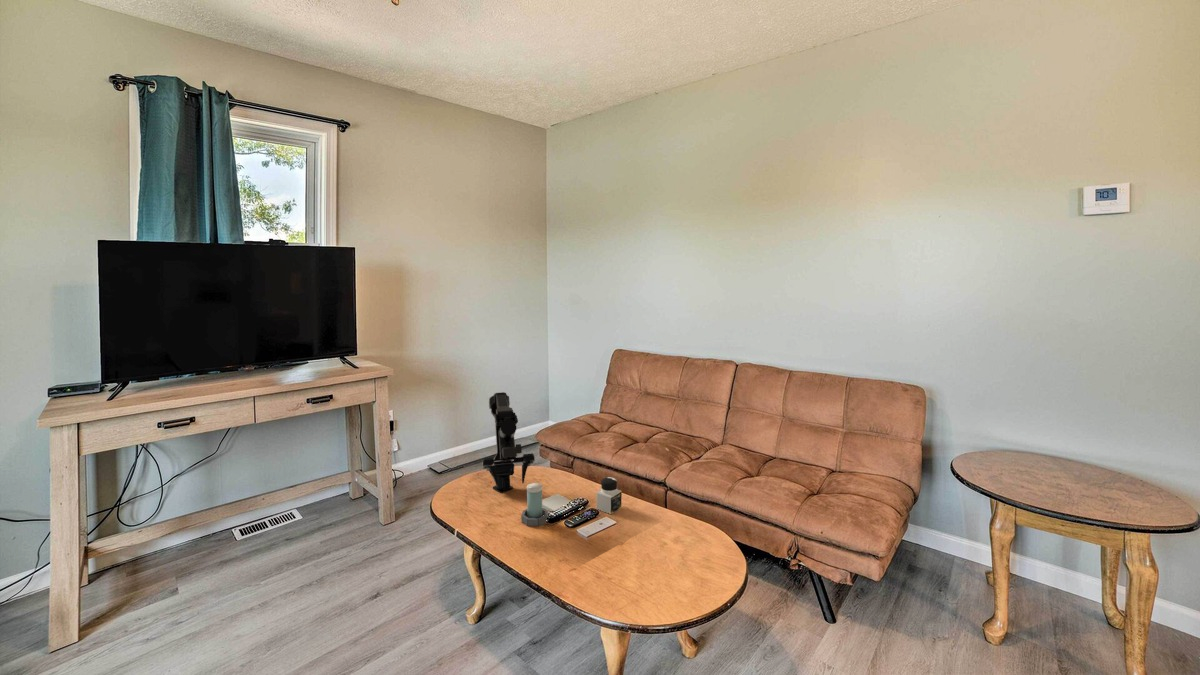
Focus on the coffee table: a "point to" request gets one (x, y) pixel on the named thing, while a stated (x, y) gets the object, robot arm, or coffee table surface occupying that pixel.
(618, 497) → the medicine bottle
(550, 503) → the tray
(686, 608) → the coffee table surface
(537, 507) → the jar
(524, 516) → the holder ring
